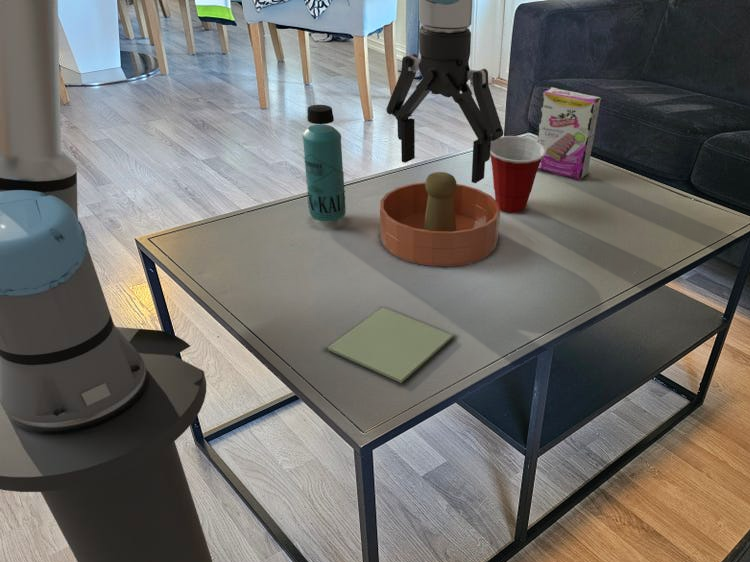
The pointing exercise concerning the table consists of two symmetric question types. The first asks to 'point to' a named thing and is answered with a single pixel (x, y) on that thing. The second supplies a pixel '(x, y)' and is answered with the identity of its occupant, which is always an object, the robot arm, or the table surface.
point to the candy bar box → (567, 131)
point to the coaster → (390, 344)
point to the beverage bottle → (324, 166)
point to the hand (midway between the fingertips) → (442, 170)
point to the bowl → (439, 248)
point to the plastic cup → (514, 170)
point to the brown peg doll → (440, 202)
